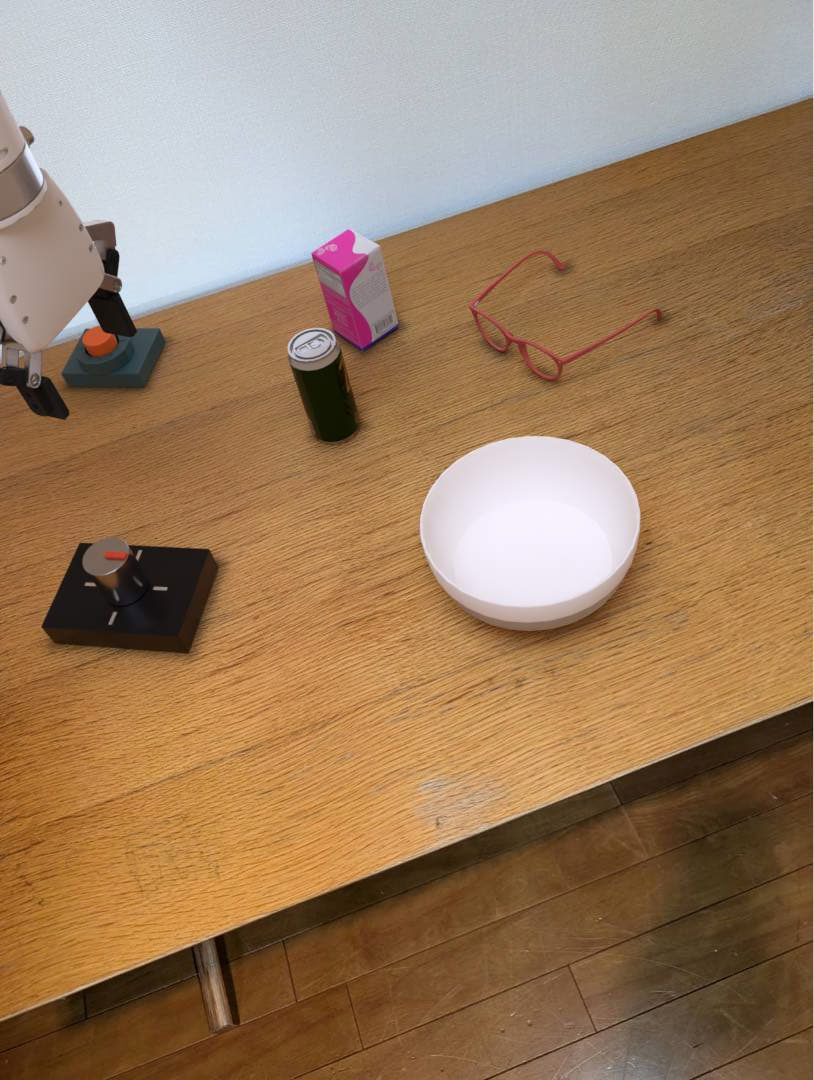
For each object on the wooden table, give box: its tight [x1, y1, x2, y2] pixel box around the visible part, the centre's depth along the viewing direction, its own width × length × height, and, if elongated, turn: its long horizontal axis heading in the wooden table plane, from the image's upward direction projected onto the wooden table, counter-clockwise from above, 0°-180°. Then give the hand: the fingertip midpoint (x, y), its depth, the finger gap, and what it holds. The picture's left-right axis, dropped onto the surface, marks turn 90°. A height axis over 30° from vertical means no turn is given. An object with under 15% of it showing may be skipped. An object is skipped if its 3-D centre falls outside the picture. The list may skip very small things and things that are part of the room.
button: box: [82, 325, 118, 357], centre depth 116 cm, size 4×4×2 cm
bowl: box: [419, 435, 642, 632], centre depth 88 cm, size 19×19×9 cm
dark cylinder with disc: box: [83, 536, 148, 606], centre depth 92 cm, size 4×4×5 cm
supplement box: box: [310, 228, 400, 353], centre depth 112 cm, size 6×6×12 cm
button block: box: [60, 327, 167, 388], centre depth 118 cm, size 10×8×4 cm
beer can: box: [286, 327, 361, 446], centre depth 103 cm, size 5×5×12 cm
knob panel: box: [40, 542, 219, 654], centre depth 95 cm, size 14×10×3 cm
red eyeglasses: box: [468, 249, 663, 381], centre depth 109 cm, size 17×16×5 cm
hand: (88, 372), depth 80 cm, fingers open, 9 cm apart
